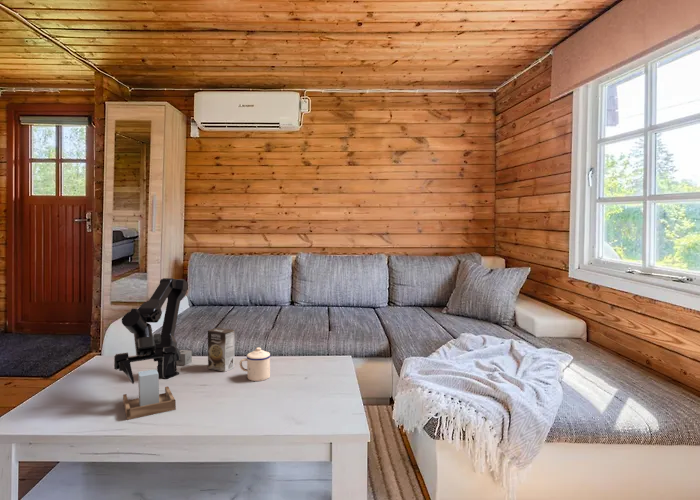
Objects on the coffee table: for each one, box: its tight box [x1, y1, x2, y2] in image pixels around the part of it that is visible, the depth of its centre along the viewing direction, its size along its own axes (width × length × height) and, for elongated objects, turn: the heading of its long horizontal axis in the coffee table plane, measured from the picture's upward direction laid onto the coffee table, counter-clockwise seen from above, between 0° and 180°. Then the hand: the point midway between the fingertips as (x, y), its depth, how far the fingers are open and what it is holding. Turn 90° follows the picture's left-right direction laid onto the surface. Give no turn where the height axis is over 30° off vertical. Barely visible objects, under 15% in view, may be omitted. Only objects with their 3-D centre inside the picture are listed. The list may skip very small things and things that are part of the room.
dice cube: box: [176, 349, 193, 367], centre depth 184 cm, size 5×5×5 cm
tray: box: [122, 386, 177, 421], centre depth 141 cm, size 14×14×3 cm
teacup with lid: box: [239, 347, 271, 382], centre depth 168 cm, size 12×9×12 cm
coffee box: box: [207, 327, 235, 373], centre depth 178 cm, size 9×6×16 cm
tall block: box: [137, 368, 160, 406], centre depth 141 cm, size 5×6×10 cm
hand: (148, 380), depth 140 cm, fingers open, 9 cm apart
